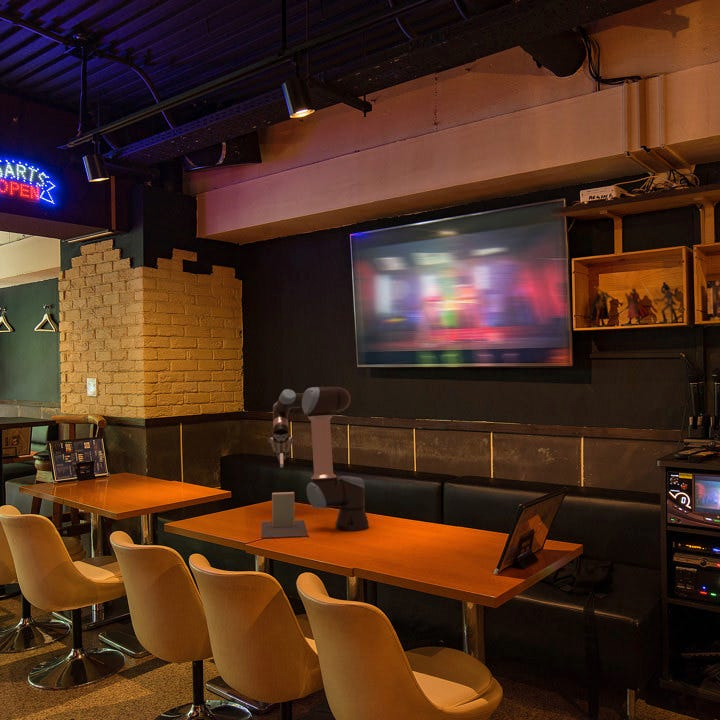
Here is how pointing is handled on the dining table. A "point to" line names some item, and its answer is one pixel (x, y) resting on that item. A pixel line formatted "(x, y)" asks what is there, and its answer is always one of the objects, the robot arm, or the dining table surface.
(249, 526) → the dining table surface
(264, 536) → the mat
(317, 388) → the robot arm
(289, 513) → the tile
